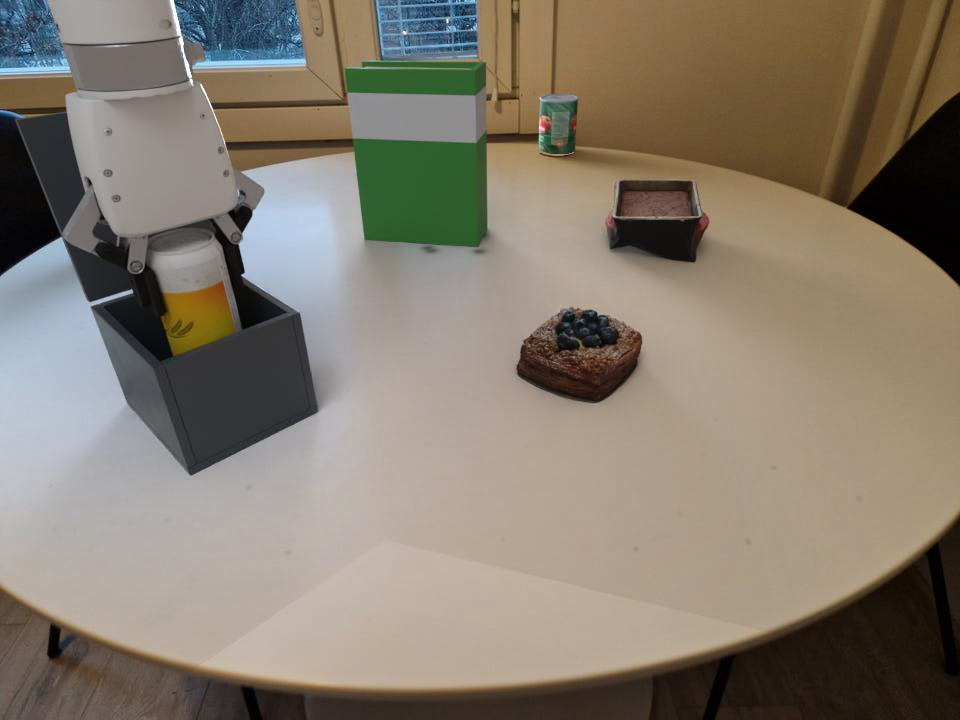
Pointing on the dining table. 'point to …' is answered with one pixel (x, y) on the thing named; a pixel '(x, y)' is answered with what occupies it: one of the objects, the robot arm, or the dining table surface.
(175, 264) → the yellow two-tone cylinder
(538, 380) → the pastry
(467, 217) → the green cereal box
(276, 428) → the black box
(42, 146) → the box lid
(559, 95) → the canned tomato
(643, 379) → the dining table surface
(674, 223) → the baking dish
